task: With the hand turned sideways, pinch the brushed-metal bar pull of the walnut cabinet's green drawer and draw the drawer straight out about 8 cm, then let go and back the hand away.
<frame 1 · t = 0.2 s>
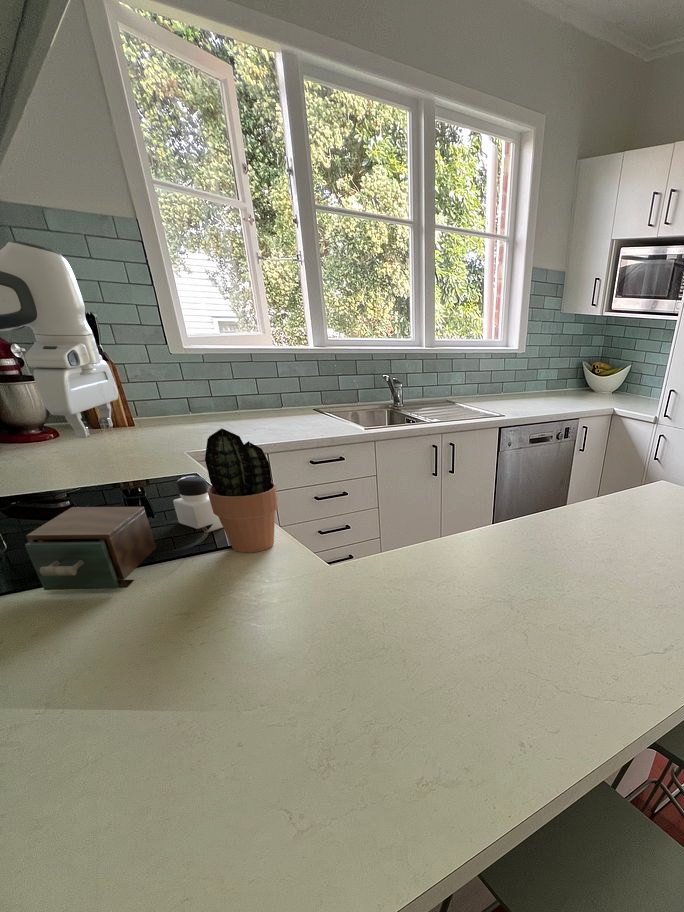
hand: (95, 432, 106), 24 cm above the worktop, tool pointing down, fingers open, 8 cm apart
medicine bottle: (203, 529, 130), on the worktop
drawer: (85, 556, 101), point 5 cm above the worktop, slide at 1.0 cm
cabinet: (107, 571, 108), on the worktop
potted plant: (253, 546, 122), on the worktop
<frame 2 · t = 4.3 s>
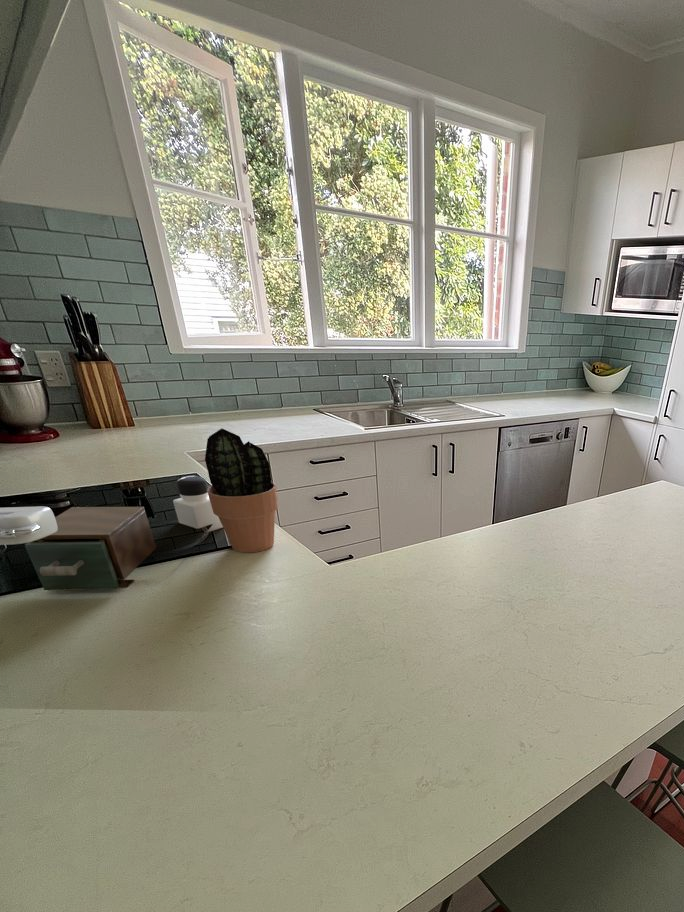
nothing on the worktop moved.
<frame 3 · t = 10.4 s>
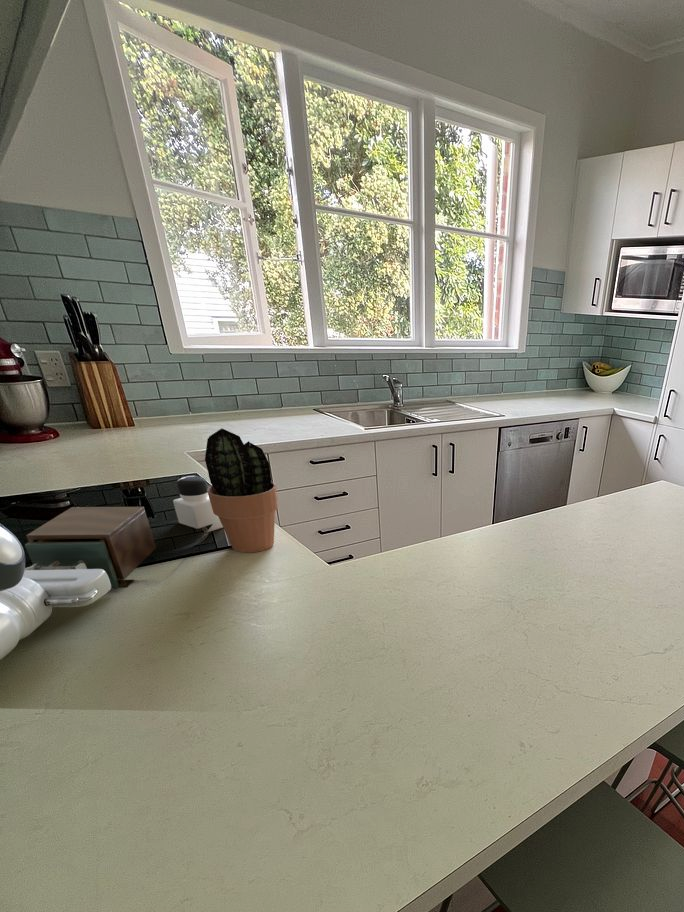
hand: (61, 567, 94), 7 cm above the worktop, tool horizontal, fingers closed on drawer, 5 cm apart
drawer: (85, 556, 101), point 5 cm above the worktop, slide at 1.0 cm, touching gripper
everything else where it was.
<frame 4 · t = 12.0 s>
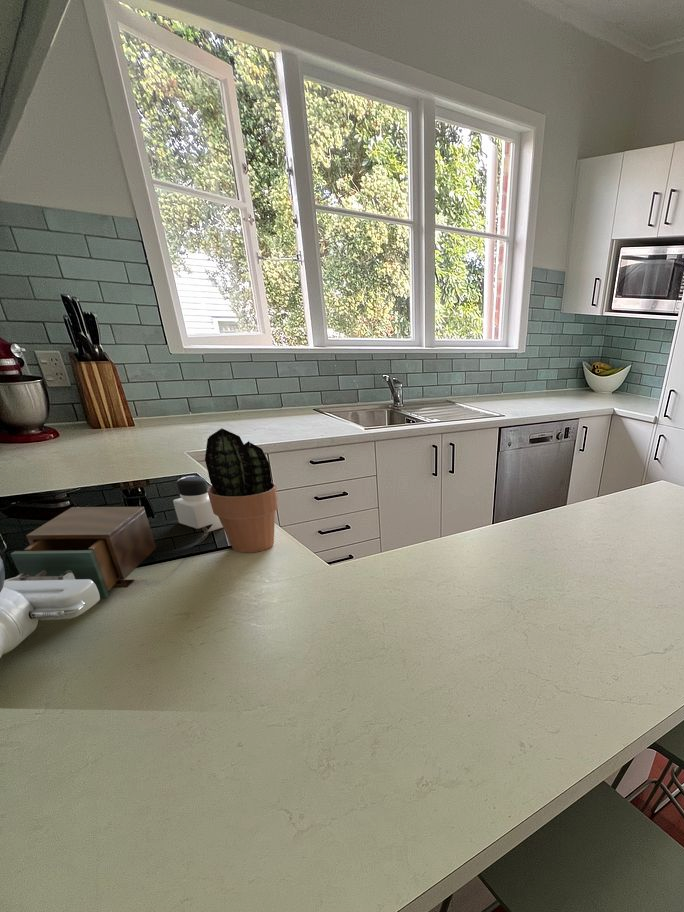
hand: (49, 577, 91), 6 cm above the worktop, tool horizontal, fingers closed on drawer, 5 cm apart
drawer: (74, 565, 98), point 5 cm above the worktop, slide at 5.0 cm, touching gripper
everything else where it was.
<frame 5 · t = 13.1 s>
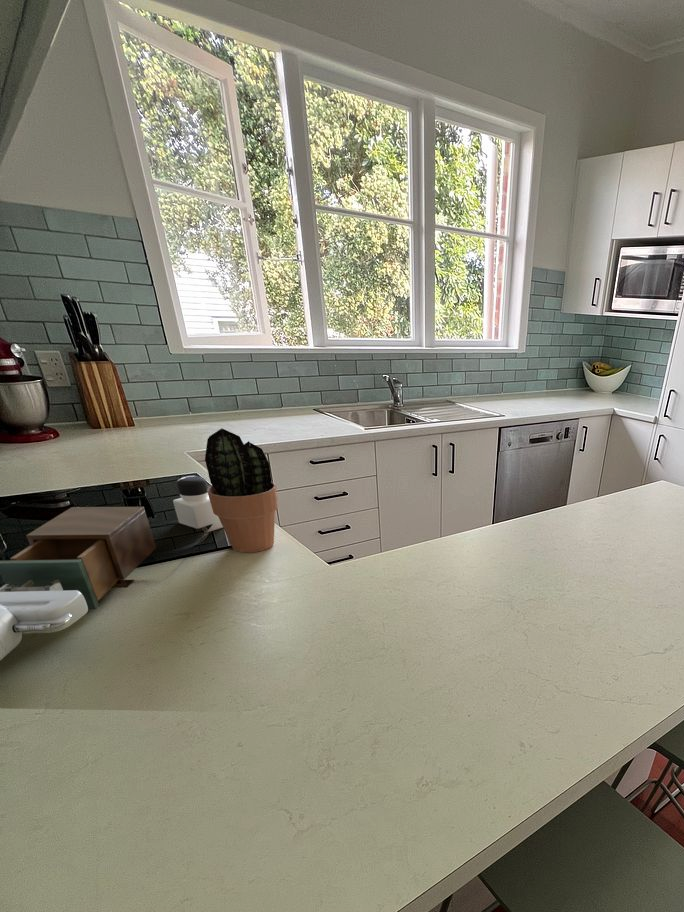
hand: (35, 587, 88), 6 cm above the worktop, tool horizontal, fingers closed on drawer, 5 cm apart
drawer: (63, 574, 95), point 5 cm above the worktop, slide at 9.0 cm, touching gripper
everything else where it was.
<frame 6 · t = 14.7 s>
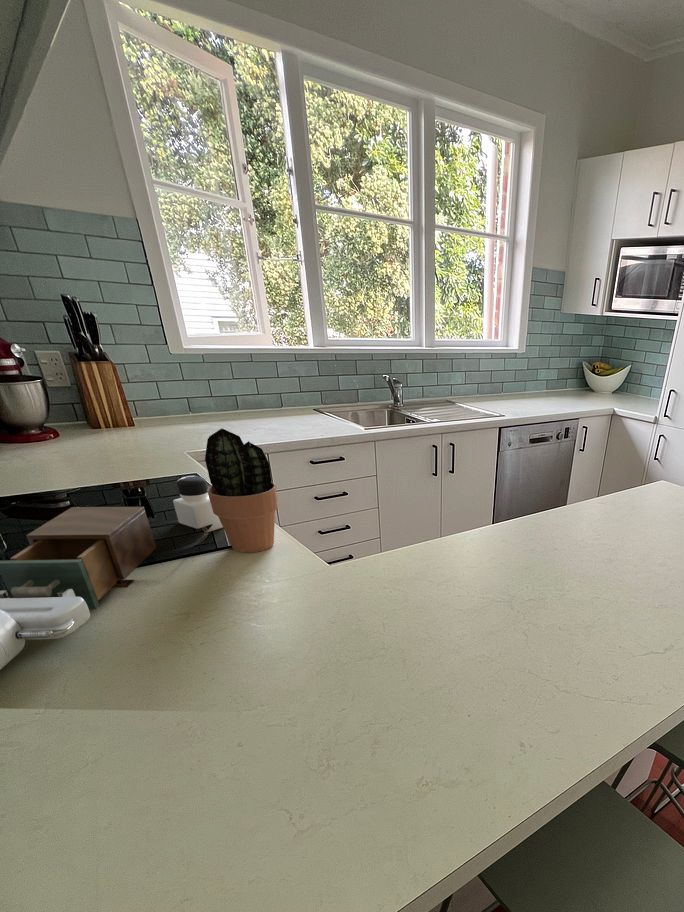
hand: (38, 593, 88), 5 cm above the worktop, tool horizontal, fingers open, 8 cm apart
drawer: (63, 574, 95), point 5 cm above the worktop, slide at 8.9 cm
everything else where it was.
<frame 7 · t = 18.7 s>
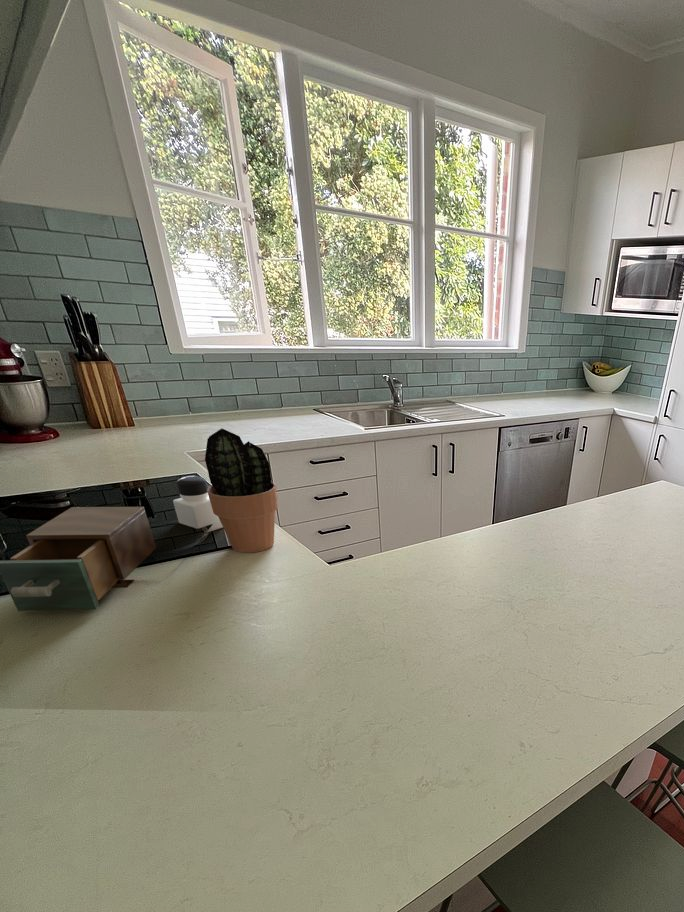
nothing on the worktop moved.
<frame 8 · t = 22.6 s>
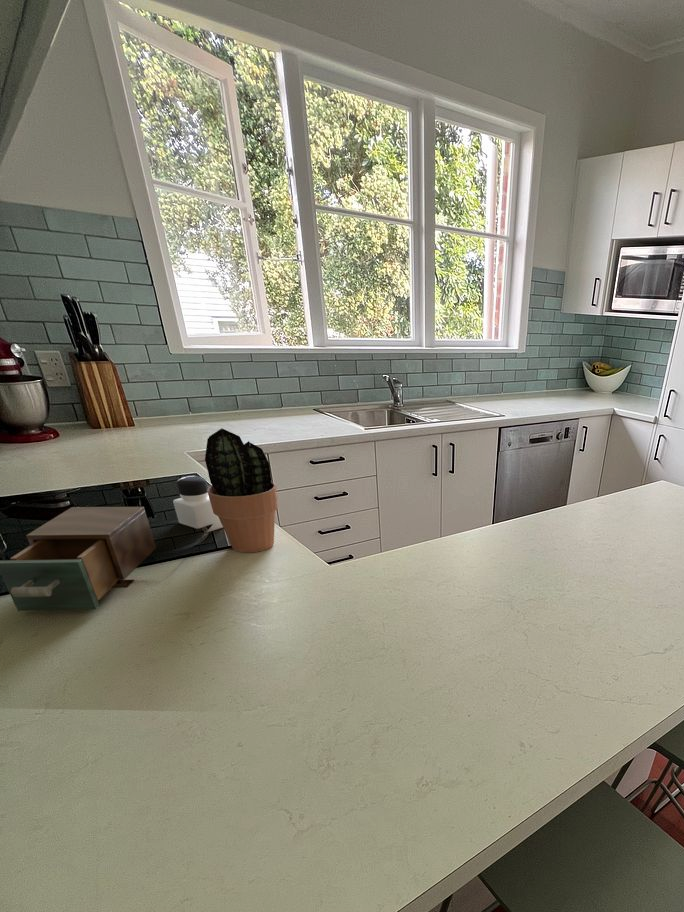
nothing on the worktop moved.
at the end: drawer slide at 8.9 cm; the gripper is holding nothing; medicine bottle moved 0.2 cm from its start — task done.
